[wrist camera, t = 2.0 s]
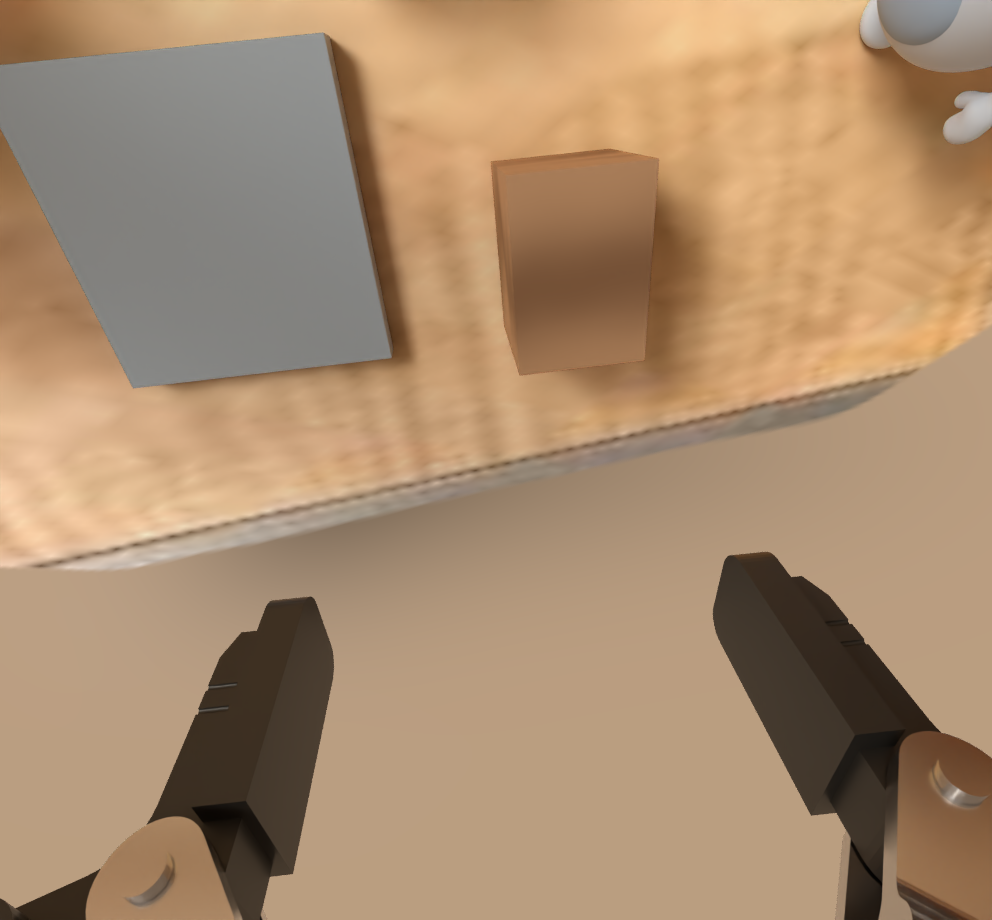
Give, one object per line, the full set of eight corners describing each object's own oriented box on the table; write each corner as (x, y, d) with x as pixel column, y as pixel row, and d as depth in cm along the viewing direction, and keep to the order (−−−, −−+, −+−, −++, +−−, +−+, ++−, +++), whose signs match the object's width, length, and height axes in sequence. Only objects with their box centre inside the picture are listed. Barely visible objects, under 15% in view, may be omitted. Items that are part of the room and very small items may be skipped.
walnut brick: (490, 161, 22) (505, 175, 17) (609, 148, 22) (659, 158, 17) (503, 324, 26) (519, 375, 21) (605, 313, 26) (644, 360, 21)
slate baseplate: (-6, 70, 19) (-31, 67, 18) (329, 36, 19) (323, 32, 18) (144, 377, 26) (133, 388, 25) (393, 348, 26) (391, 358, 25)
